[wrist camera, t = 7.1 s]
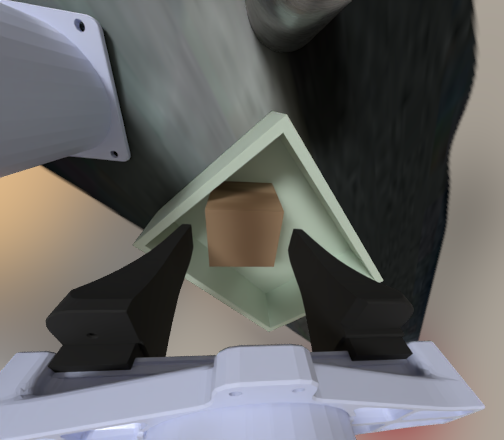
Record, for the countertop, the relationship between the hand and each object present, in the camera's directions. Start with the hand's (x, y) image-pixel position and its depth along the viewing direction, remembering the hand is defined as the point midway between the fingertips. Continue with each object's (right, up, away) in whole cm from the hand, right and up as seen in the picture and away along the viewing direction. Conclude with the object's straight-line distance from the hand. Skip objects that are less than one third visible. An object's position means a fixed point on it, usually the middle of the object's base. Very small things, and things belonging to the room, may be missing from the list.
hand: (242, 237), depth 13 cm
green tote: (+2, 0, +6) cm, 7 cm away
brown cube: (0, +2, +4) cm, 5 cm away
